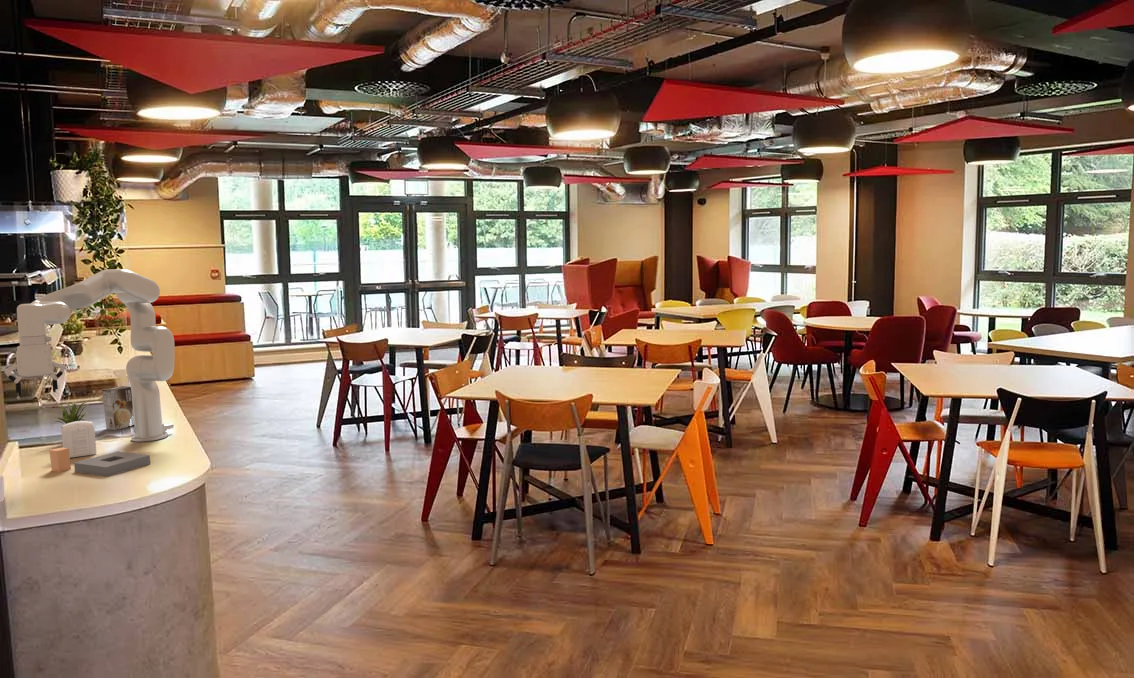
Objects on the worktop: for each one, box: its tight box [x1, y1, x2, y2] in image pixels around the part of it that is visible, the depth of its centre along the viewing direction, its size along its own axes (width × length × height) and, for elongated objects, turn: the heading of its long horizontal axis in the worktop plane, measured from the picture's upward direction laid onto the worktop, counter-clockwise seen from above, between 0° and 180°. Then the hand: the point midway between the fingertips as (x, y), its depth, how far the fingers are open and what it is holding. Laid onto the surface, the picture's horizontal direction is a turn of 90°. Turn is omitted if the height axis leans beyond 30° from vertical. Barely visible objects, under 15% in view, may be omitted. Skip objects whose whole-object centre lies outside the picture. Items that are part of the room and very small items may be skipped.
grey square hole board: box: [73, 450, 151, 477], centre depth 294 cm, size 16×16×3 cm
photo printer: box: [60, 420, 98, 459], centre depth 312 cm, size 10×4×12 cm, turn 123°
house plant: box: [51, 400, 90, 430], centre depth 334 cm, size 14×14×16 cm
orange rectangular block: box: [49, 446, 72, 473], centre depth 293 cm, size 4×4×7 cm
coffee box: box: [101, 385, 134, 431], centre depth 359 cm, size 9×6×16 cm
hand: (37, 393), depth 292 cm, fingers open, 9 cm apart
